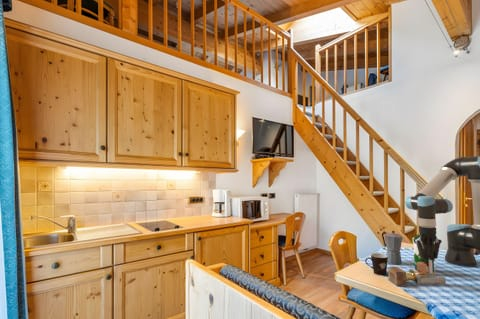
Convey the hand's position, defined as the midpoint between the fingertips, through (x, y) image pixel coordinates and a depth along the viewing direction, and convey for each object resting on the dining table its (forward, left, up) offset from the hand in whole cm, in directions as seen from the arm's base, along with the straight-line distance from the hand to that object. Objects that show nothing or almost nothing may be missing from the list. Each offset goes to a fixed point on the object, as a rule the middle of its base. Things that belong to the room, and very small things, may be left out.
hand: (429, 272), depth 141 cm
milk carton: (-7, -14, -5) cm, 16 cm away
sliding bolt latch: (+1, 0, -5) cm, 5 cm away
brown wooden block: (+17, 0, -5) cm, 18 cm away
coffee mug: (+20, -14, -5) cm, 25 cm away
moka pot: (+2, -30, -5) cm, 31 cm away
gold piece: (+10, 0, -4) cm, 11 cm away
